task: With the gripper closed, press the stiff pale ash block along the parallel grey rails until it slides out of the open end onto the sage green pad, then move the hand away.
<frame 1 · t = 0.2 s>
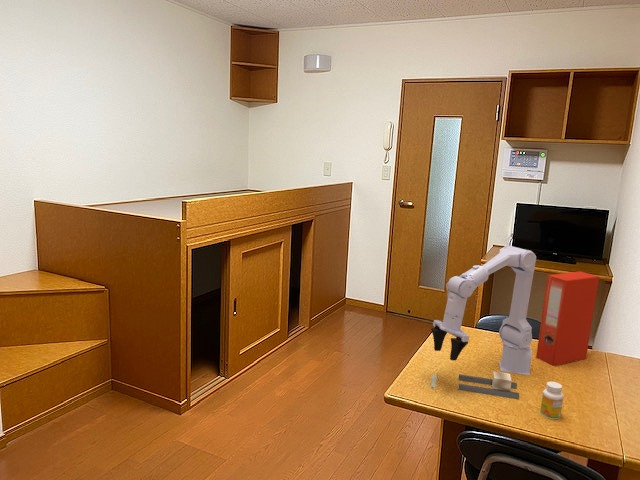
hand: (445, 355, 156), 10 cm above the table, tool pointing down, fingers open, 7 cm apart
jammed block: (501, 383, 155), point 3 cm above the table, slide at 0.0 cm
supplement bottle: (550, 416, 142), on the table
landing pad: (444, 382, 160), on the table
parallel grey rails: (487, 389, 156), on the table
file binder: (561, 358, 182), on the table
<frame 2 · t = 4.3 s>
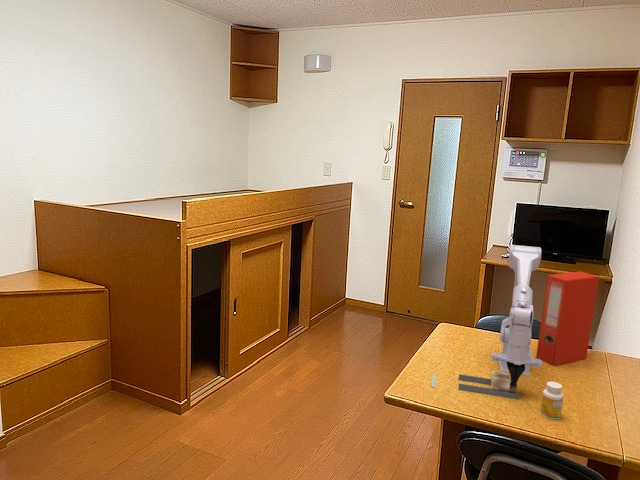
hand: (513, 384, 154), 3 cm above the table, tool pointing down, fingers closed
jammed block: (500, 383, 155), point 3 cm above the table, slide at 0.4 cm, touching gripper
everything else where it was.
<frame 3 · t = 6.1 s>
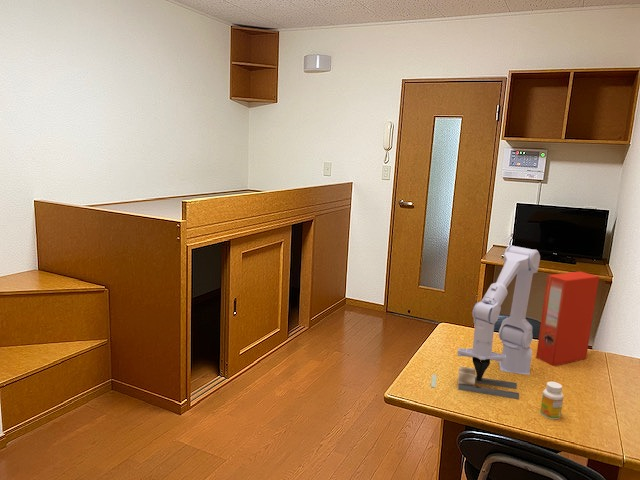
hand: (478, 379, 157), 3 cm above the table, tool pointing down, fingers closed
jammed block: (466, 377, 158), point 3 cm above the table, slide at 10.7 cm, touching gripper
everything else where it was.
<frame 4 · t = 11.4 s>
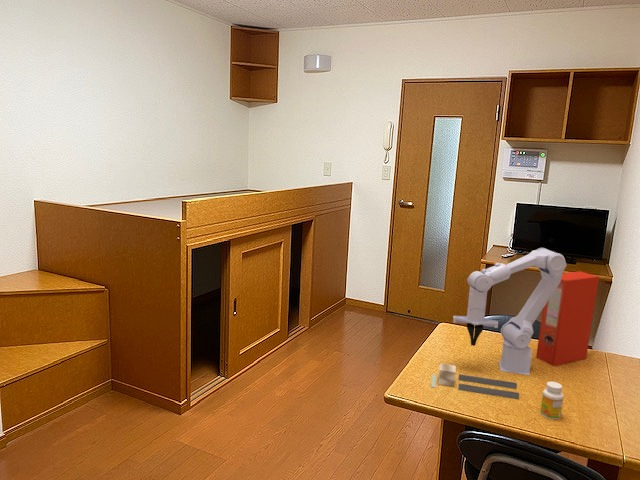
hand: (472, 344, 168), 9 cm above the table, tool pointing down, fingers closed
jammed block: (447, 374, 159), point 3 cm above the table, slide at 16.8 cm
everything else where it was.
at the end: jammed block slide at 16.8 cm; the gripper is holding nothing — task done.
